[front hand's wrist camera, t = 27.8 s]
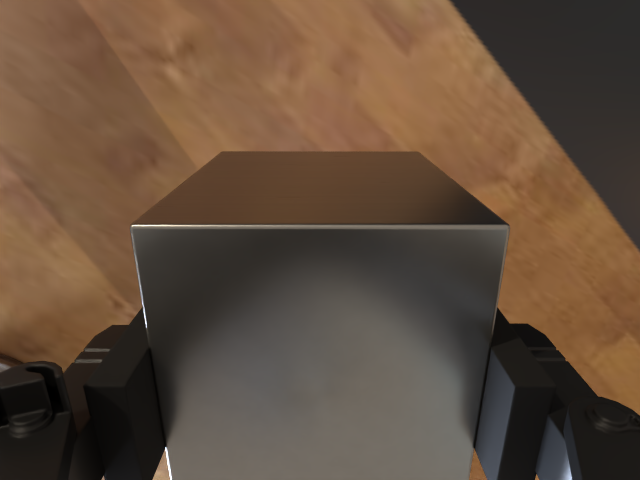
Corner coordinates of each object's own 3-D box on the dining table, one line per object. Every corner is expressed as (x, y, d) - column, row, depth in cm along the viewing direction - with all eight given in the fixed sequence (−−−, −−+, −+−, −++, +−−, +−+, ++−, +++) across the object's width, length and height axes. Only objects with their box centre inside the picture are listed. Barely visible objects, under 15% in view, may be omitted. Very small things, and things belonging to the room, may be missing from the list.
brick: (419, 151, 16) (512, 225, 8) (403, 340, 18) (462, 527, 11) (220, 150, 16) (127, 224, 8) (235, 340, 18) (176, 527, 11)
